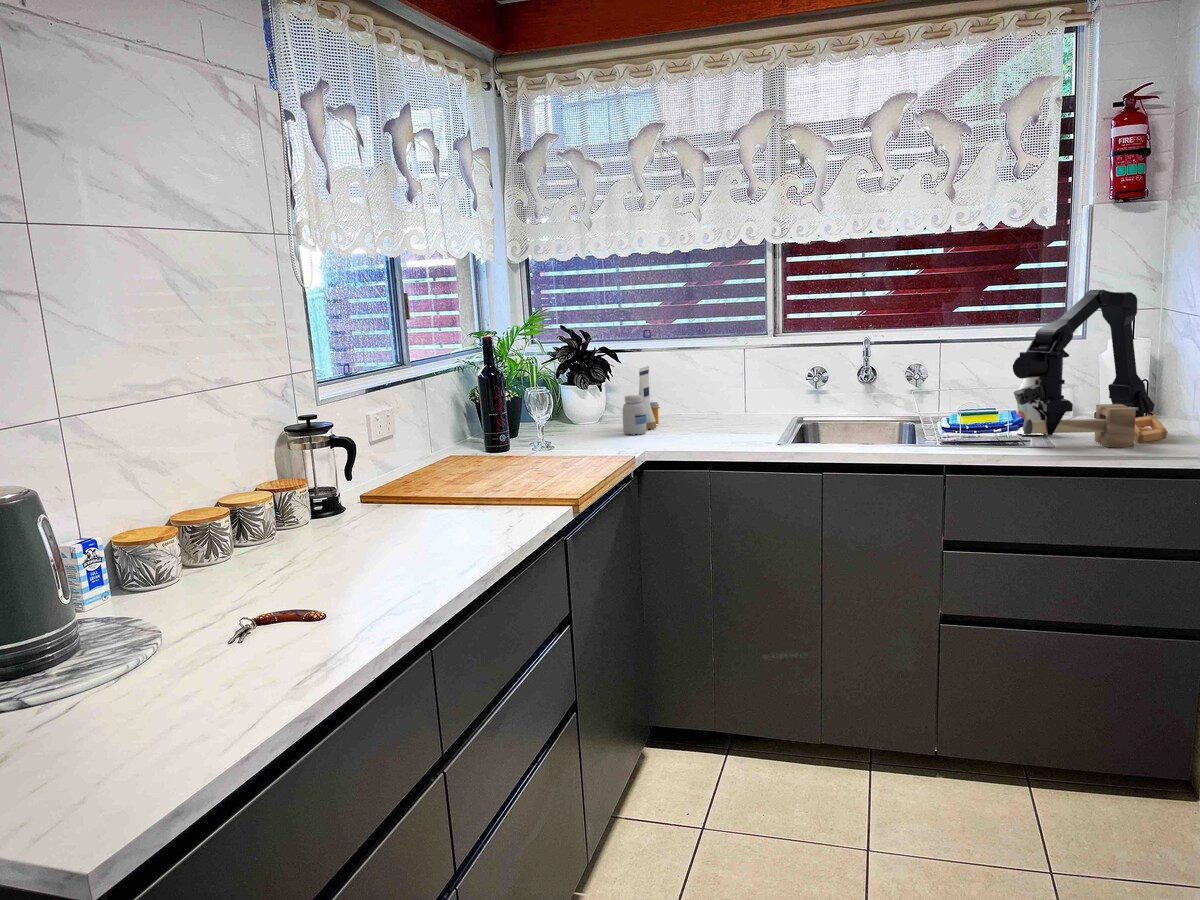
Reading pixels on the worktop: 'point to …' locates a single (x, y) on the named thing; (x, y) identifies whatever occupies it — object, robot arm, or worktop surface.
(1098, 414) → the bearing block
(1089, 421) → the shaft
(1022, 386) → the milk bottle
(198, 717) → the worktop surface
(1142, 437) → the frame
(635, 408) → the toiletry set
